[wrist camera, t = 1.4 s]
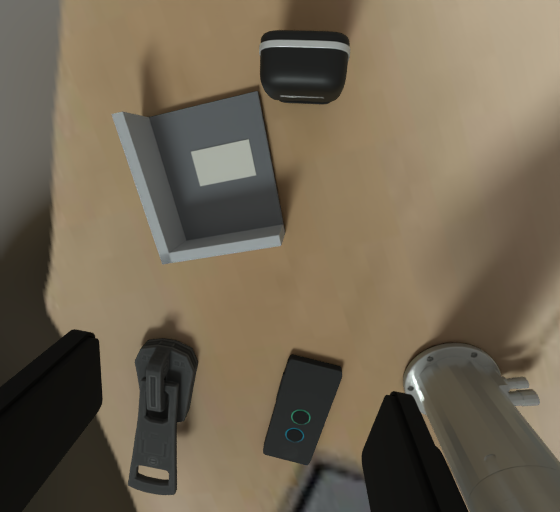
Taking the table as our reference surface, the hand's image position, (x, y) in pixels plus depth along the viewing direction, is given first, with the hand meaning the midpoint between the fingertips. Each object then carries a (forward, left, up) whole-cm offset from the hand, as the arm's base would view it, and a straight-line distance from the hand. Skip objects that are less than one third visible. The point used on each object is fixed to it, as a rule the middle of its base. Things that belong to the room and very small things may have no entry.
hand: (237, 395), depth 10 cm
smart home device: (+4, +31, -29) cm, 43 cm away
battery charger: (-4, -13, -29) cm, 32 cm away
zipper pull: (+25, +27, -29) cm, 47 cm away
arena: (+8, -6, -29) cm, 30 cm away
